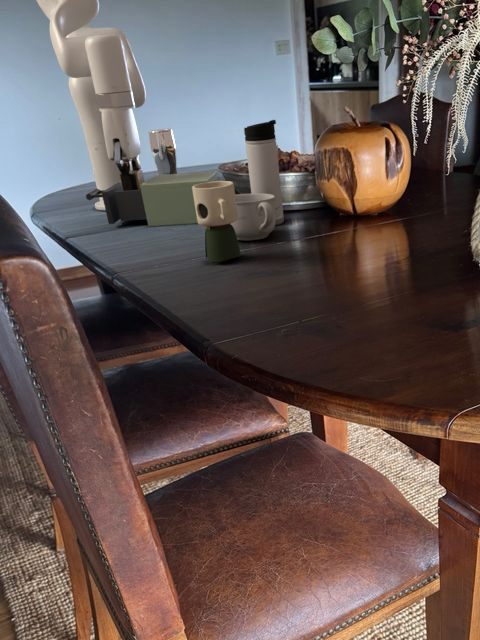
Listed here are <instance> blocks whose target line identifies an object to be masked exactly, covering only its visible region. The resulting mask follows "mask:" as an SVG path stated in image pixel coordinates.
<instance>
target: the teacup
mask: <svg viewBox="0 0 480 640" xmlns="http://www.w3.org/2000/svg"><path fill="white" fill-rule="evenodd" d="M235 198H236V205H237V213H238V220H237V221H235V222H233V223H231V225H232V226H233V228H234V229H235V233H236V236H237V240H238V241H259V240H263V239H266V238H267V237H268V236H269V235H270V234H271V233H272V232H273V231H274V229H275V226H276V225H275V196H274V195H272V194H258V193H253V194H251V193H239V194H235Z"/></svg>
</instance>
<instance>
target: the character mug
mask: <svg viewBox="0 0 480 640" xmlns="http://www.w3.org/2000/svg"><path fill="white" fill-rule="evenodd" d="M192 190H193V197H194V202H195V208H196V215H197V221H198V223H197V224H198V225H199V226H203V227H205V231H204V252H205V259H207V262H211V263H220V262H221V263H222V262H225V263H228V262H229V260H232V259H235V258H238V257H241V255H242V253H241V247H240V243H239V240H237V236H236V233H235V229H234V228H233V226H232V225H231V223H233V222H235V221H237V220H238V213H237V205H236V198H235V195H236V190H235V185H234V182H233V181H231V180H219V181H212V182H206V183H200V184H197V185H194V186H192Z"/></svg>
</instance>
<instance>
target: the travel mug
mask: <svg viewBox="0 0 480 640" xmlns="http://www.w3.org/2000/svg"><path fill="white" fill-rule="evenodd" d="M275 125H277V120H276V119H271V120H269V121H266V122H261V123H257V124H256V123H255V124H252V125H251V124H250V125H248V126H246V127H243V132H244V136H245V137H244V143H245V150H246V159H247V166H248V176H249V184H250V194H253V193H258V194H272V195H274V196H275V226H278V225H282V224H283V223H284V221H285V217H284V209H283V208H284V207H283V198H282V197H283V195H282V187H281V177H280V166H279V157H278V155H279V154H278V147H277V146H278V145H277V138H276V134H275V133H276V130H275Z"/></svg>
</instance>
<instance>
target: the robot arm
mask: <svg viewBox="0 0 480 640" xmlns="http://www.w3.org/2000/svg"><path fill="white" fill-rule="evenodd" d="M35 1H36V3H37V4H38V6H39V8H40V9H41V11H42V12H43V13H44V15H45V16H46V18H47V19H48V21H49V38H50V42H51V45H52V48H53V52H54V54H55V56H56V60H57V62H58V64H59V67H60V68H61V70H62V72H63V73H64V74H65V75H66V76H67V77H69V78H68V89H69V93H70V95H71V99H72V102H73V104H74V106H75V109H76V111H77V114H78V118H79V121H80V124H81V127H82V128H81V129H82V132H83V136H84V139H85V144H86V148H87V153H88V156H89V161H90V165H91V169H92V173H93V177H94V181H95V185H96V189H99V190H106V189H108V188H110V187H112V186H113V185H115V184H117V183H121V182H122V187H123V191H128V190H138V187H137V182H136V178H135V174H133V171H136V170H142V167H141V163H140V155H141V154H142V146H141V141H140V136H139V131H138V127H137V122H136V119H135V116H134V112H133V111H134V109H138V108H141V107H142V106H143V105H145V103H146V100H147V92H146V86H145V82H144V80H143V76H142V74H141V71H140V68H139V66H138V63H137V60H136V57H135V55H134V52H133V49H132V46H131V44H130V41H129V39H128V37H127V35H126V34H125V32H123V31H122V30H121V29H119V28H116V27H111V26H110V27H92V26H91V24H90V23H91V22H92V21H93V20H94V19H95V18H96V17H97V15H98V14H99V11H100V2H99V0H35ZM119 174H120V177H121V182H120V177H119ZM101 194H102V193H101ZM94 208H95V209H96V210H97V211H106V210H105V205H104V201H103V197H99V200H98V201H97V202H95V204H94Z"/></svg>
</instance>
